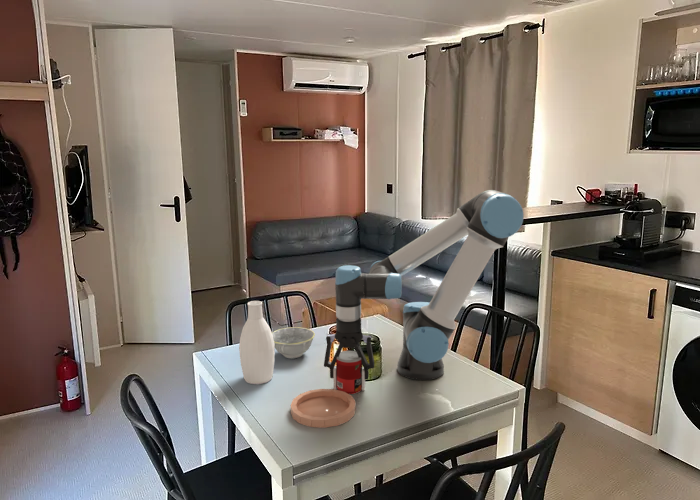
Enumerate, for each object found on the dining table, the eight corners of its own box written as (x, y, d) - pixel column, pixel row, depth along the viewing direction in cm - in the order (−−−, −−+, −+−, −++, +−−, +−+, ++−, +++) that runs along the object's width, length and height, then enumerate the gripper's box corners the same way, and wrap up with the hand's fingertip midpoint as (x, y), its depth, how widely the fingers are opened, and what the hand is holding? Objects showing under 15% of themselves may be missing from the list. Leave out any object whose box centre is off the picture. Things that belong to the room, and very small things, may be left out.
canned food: (360, 395, 160) (359, 361, 158) (334, 393, 162) (333, 359, 159) (364, 384, 167) (364, 351, 165) (339, 382, 169) (339, 349, 167)
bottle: (267, 368, 180) (264, 295, 175) (281, 380, 171) (278, 304, 166) (235, 376, 174) (231, 301, 169) (248, 389, 165) (244, 310, 160)
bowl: (296, 367, 180) (296, 346, 179) (260, 357, 189) (259, 337, 187) (323, 351, 194) (323, 331, 192) (289, 343, 202) (288, 324, 200)
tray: (357, 396, 159) (357, 390, 159) (351, 428, 142) (351, 421, 141) (298, 394, 161) (298, 387, 161) (285, 425, 144) (284, 418, 143)
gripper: (384, 314, 162) (383, 383, 167) (316, 312, 165) (317, 381, 169) (382, 322, 155) (382, 395, 160) (312, 320, 157) (314, 392, 162)
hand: (349, 388), depth 164 cm, fingers closed on canned food, 8 cm apart
